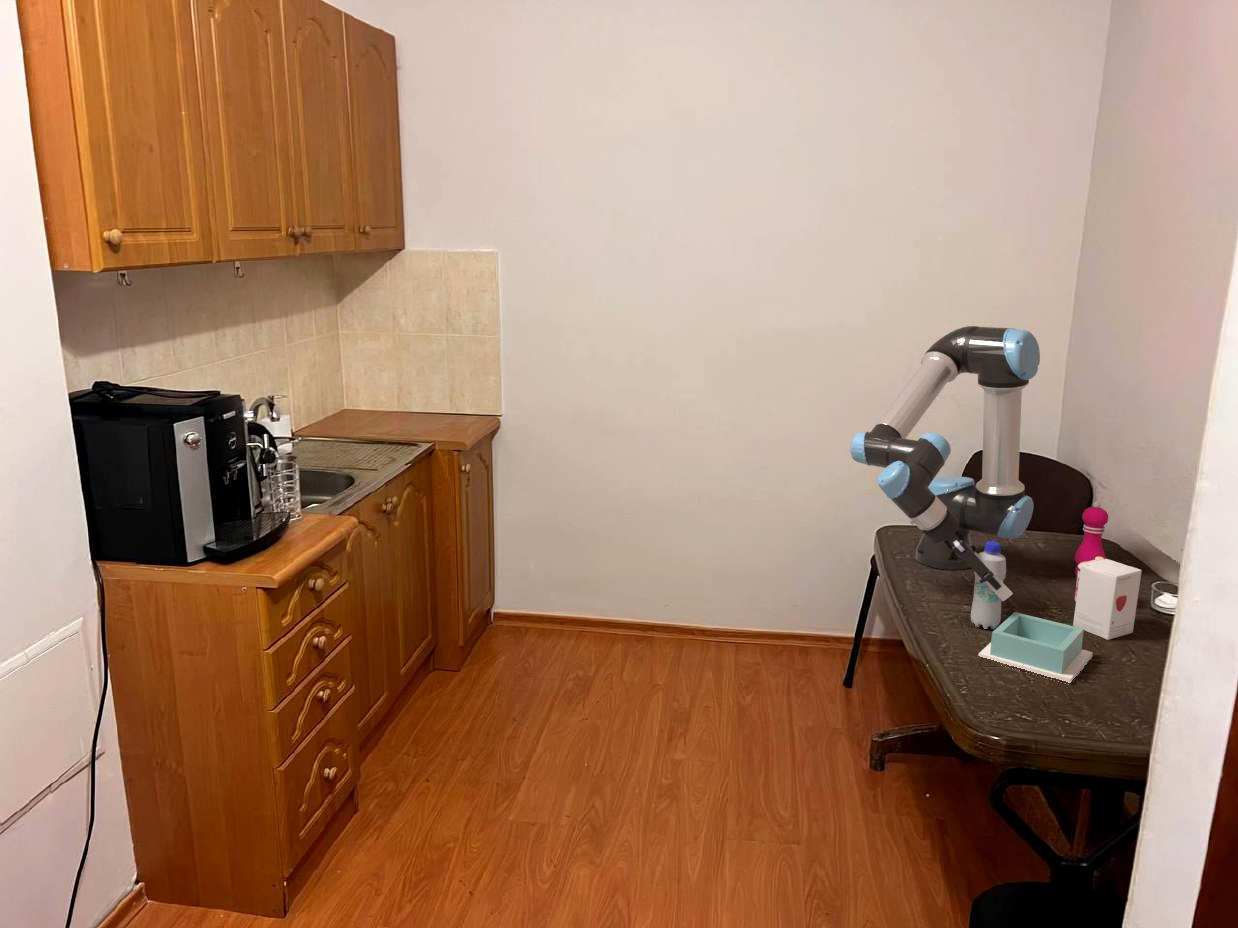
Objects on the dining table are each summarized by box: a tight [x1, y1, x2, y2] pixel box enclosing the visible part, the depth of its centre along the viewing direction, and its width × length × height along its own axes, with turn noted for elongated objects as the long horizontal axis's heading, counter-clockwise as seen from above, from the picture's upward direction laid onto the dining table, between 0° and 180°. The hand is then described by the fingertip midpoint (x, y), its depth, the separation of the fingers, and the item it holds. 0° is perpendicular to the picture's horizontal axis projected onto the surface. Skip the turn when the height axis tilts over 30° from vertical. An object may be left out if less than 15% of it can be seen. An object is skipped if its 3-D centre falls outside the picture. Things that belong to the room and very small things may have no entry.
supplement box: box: [1072, 558, 1143, 641], centre depth 206 cm, size 9×9×15 cm
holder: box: [977, 611, 1094, 684], centre depth 193 cm, size 18×16×6 cm
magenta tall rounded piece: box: [1074, 501, 1109, 576], centre depth 239 cm, size 7×7×20 cm
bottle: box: [970, 541, 1007, 630], centre depth 208 cm, size 7×7×20 cm
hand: (998, 585), depth 207 cm, fingers open, 13 cm apart
